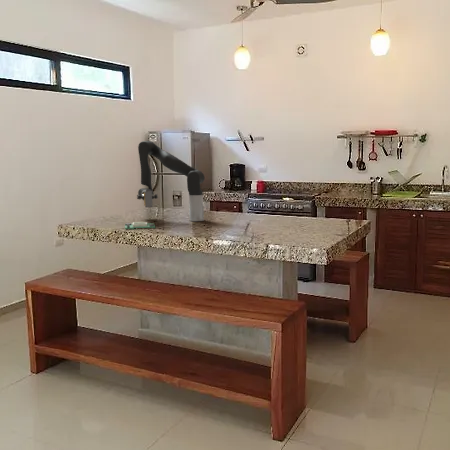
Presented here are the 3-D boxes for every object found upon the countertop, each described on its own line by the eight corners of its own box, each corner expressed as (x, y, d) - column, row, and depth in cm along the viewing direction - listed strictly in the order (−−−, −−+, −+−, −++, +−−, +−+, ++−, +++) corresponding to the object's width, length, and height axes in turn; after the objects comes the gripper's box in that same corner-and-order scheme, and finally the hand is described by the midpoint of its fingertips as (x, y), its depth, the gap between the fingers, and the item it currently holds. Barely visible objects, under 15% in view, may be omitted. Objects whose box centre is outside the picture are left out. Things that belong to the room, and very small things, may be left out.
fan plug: (152, 206, 328) (151, 189, 326) (152, 207, 323) (151, 190, 322) (144, 206, 327) (143, 189, 325) (144, 207, 322) (143, 190, 321)
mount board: (153, 225, 323) (153, 220, 322) (155, 228, 309) (155, 223, 308) (125, 226, 319) (124, 221, 319) (125, 229, 306) (124, 224, 305)
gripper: (135, 190, 336) (136, 192, 320) (157, 189, 339) (159, 191, 322) (136, 201, 337) (137, 204, 321) (158, 200, 340) (159, 203, 323)
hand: (148, 197), depth 322 cm, fingers closed on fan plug, 5 cm apart
